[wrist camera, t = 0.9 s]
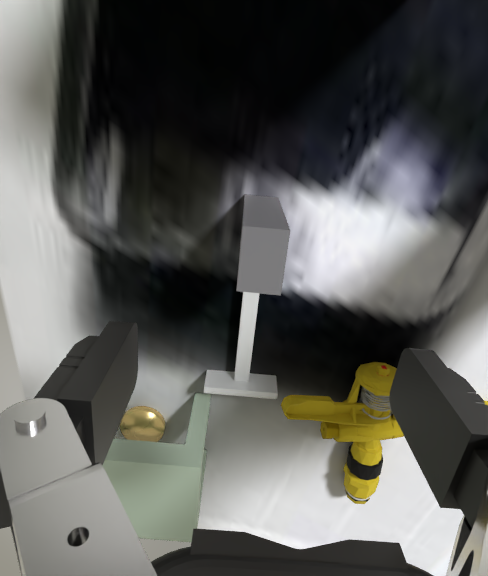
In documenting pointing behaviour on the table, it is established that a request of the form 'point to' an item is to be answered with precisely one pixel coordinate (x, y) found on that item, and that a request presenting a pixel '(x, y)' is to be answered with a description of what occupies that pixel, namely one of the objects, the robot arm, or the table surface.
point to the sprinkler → (355, 425)
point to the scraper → (254, 292)
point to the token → (142, 424)
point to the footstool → (162, 479)
